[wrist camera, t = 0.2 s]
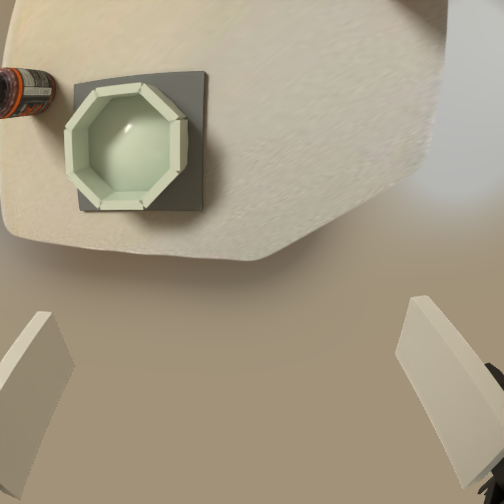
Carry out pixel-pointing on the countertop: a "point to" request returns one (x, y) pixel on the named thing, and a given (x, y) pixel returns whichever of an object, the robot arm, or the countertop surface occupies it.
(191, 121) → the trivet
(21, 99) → the supplement bottle
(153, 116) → the bowl
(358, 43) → the countertop surface
